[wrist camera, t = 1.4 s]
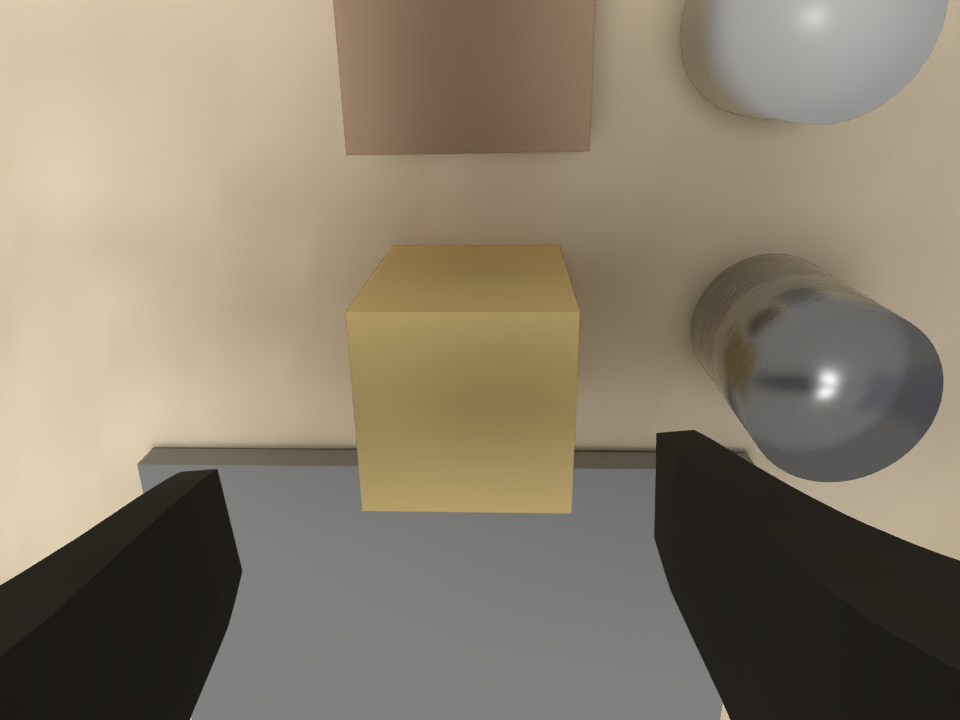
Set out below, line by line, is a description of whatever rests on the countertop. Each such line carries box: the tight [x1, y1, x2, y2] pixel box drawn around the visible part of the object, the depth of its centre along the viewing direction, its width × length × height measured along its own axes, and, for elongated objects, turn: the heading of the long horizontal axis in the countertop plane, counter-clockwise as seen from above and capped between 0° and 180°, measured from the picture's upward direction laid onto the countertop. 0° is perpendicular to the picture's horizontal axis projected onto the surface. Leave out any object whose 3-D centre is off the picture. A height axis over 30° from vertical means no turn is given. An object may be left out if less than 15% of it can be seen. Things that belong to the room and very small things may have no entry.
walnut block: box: [333, 0, 595, 155], centre depth 15 cm, size 5×5×4 cm
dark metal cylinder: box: [691, 254, 943, 482], centre depth 17 cm, size 4×4×5 cm
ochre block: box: [346, 245, 580, 514], centre depth 17 cm, size 4×4×6 cm
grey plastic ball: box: [680, 0, 948, 125], centre depth 15 cm, size 4×4×4 cm
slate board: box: [137, 448, 754, 720], centre depth 23 cm, size 18×12×1 cm, turn 91°
